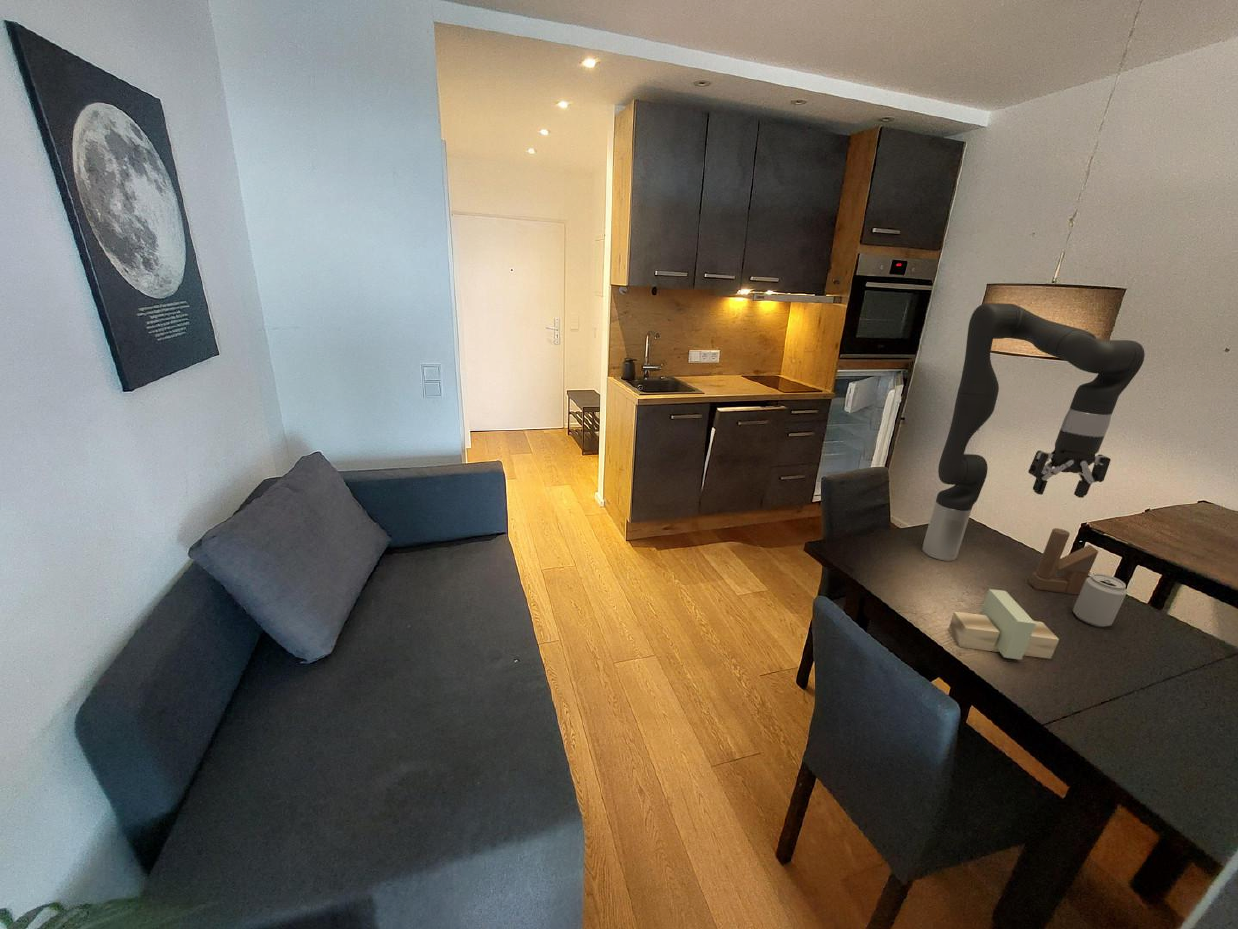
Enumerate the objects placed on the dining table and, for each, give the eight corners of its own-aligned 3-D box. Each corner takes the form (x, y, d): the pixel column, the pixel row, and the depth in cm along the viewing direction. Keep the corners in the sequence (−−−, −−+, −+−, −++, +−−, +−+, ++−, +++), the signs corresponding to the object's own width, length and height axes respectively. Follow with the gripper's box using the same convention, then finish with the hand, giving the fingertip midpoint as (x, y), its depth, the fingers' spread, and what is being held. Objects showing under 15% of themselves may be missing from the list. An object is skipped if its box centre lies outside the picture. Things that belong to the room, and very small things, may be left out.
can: (1071, 619, 122) (1088, 579, 118) (1071, 606, 128) (1088, 567, 123) (1111, 633, 118) (1131, 592, 113) (1110, 619, 123) (1129, 579, 118)
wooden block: (1079, 595, 132) (1104, 538, 125) (1035, 589, 134) (1057, 533, 128) (1071, 588, 135) (1095, 532, 129) (1027, 582, 138) (1049, 527, 131)
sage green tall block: (977, 622, 119) (989, 589, 115) (993, 624, 118) (1005, 590, 115) (1004, 657, 108) (1018, 621, 104) (1021, 659, 107) (1036, 623, 104)
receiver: (948, 629, 118) (954, 611, 116) (1034, 640, 115) (1042, 622, 113) (959, 647, 112) (966, 628, 110) (1050, 658, 109) (1059, 639, 107)
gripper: (1106, 427, 111) (1080, 491, 117) (1037, 423, 113) (1015, 486, 119) (1132, 437, 104) (1103, 504, 110) (1058, 432, 106) (1034, 498, 112)
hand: (1057, 494), depth 114 cm, fingers open, 8 cm apart
